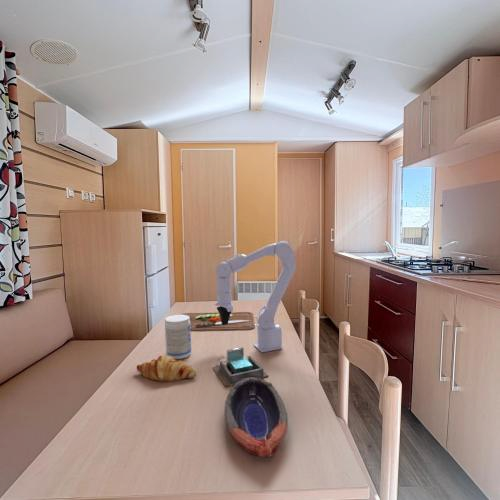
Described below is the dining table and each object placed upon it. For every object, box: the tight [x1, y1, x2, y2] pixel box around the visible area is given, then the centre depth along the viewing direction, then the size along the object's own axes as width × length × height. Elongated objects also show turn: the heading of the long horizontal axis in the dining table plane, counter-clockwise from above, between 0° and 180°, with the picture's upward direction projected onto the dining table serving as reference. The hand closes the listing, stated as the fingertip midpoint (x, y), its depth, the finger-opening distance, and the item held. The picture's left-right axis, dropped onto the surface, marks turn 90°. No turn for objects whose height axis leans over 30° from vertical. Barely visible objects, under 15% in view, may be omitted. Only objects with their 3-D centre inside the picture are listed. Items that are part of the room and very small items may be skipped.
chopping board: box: [180, 311, 259, 332], centre depth 158 cm, size 45×27×3 cm, turn 92°
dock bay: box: [212, 355, 269, 387], centre depth 104 cm, size 15×14×3 cm
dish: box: [224, 377, 289, 458], centre depth 78 cm, size 16×31×5 cm, turn 3°
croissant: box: [136, 355, 197, 382], centre depth 102 cm, size 21×10×8 cm, turn 82°
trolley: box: [225, 346, 254, 374], centre depth 103 cm, size 7×9×6 cm
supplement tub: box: [164, 314, 192, 360], centre depth 118 cm, size 10×10×15 cm
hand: (224, 324), depth 125 cm, fingers closed
